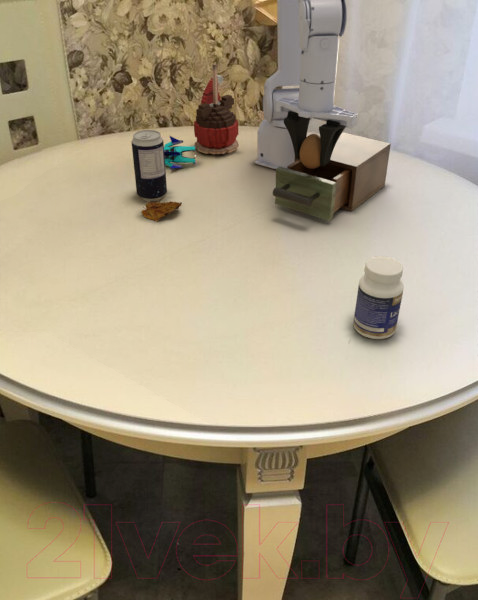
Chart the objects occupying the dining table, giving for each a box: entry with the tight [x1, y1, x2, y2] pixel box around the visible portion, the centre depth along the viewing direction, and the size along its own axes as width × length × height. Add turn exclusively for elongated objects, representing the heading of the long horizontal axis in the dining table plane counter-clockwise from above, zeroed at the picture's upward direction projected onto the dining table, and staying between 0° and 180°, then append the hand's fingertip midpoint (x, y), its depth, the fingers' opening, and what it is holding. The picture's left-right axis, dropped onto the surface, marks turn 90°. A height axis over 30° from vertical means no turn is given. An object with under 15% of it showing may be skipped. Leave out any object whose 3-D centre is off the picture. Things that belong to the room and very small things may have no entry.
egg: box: [299, 133, 321, 169], centre depth 105 cm, size 4×4×6 cm
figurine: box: [164, 135, 197, 170], centre depth 127 cm, size 7×6×12 cm
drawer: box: [272, 159, 352, 222], centre depth 110 cm, size 17×11×7 cm
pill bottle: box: [352, 255, 404, 340], centre depth 80 cm, size 6×6×10 cm
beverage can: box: [130, 129, 168, 202], centre depth 113 cm, size 6×6×12 cm
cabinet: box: [294, 131, 392, 212], centre depth 116 cm, size 14×13×9 cm
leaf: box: [141, 201, 183, 222], centre depth 111 cm, size 6×7×2 cm
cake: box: [193, 63, 239, 155], centre depth 131 cm, size 11×9×18 cm
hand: (312, 160), depth 106 cm, fingers closed on egg, 4 cm apart
